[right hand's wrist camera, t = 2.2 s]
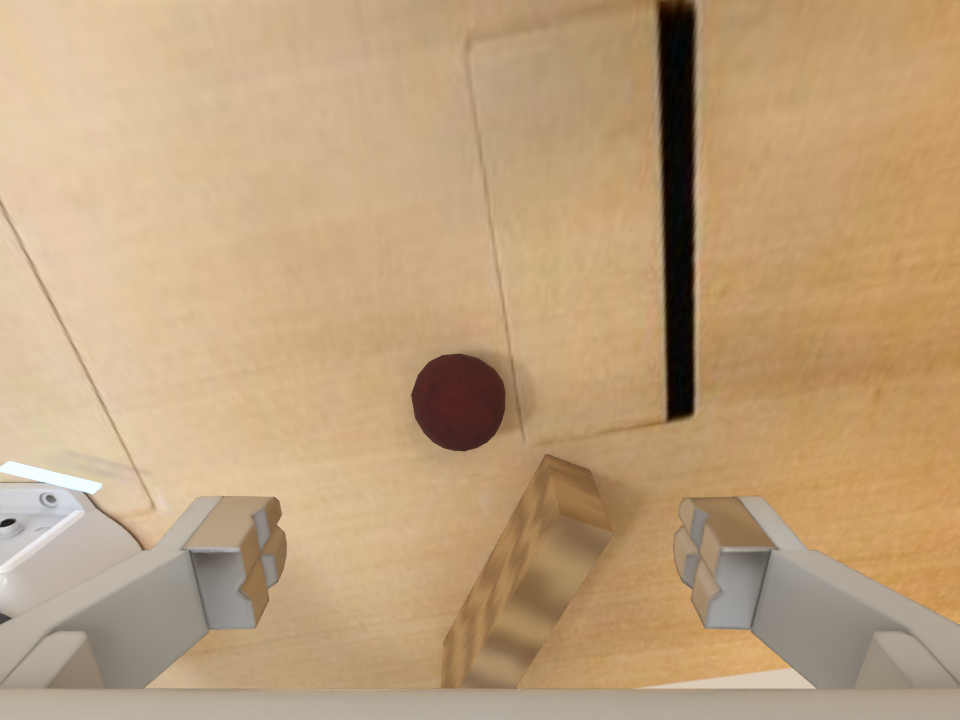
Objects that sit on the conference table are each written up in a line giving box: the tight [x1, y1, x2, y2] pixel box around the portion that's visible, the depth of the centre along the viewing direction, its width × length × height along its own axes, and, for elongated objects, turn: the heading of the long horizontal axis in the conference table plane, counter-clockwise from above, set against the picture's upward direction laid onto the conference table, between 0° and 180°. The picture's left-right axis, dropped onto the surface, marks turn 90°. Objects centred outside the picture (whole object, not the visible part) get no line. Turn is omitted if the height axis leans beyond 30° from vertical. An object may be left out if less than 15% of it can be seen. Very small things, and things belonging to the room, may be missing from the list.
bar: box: [441, 454, 614, 689], centre depth 47 cm, size 25×5×9 cm, turn 157°
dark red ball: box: [411, 354, 505, 451], centre depth 41 cm, size 7×8×7 cm
